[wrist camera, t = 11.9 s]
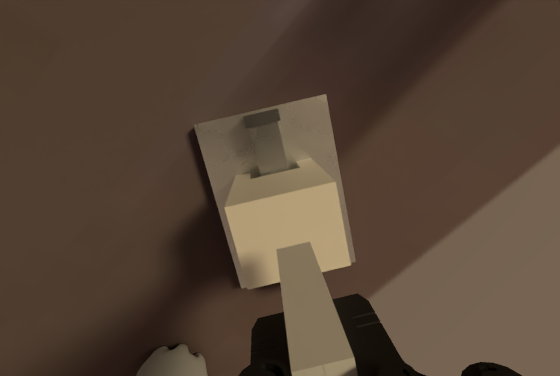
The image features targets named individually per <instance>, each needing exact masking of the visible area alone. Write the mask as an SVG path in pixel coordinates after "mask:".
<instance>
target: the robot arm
mask: <svg viewBox="0 0 560 376" xmlns="http://www.w3.org/2000/svg"><path fill="white" fill-rule="evenodd" d="M276 251H277V259H278V267H279V276H280V284H281V292H282V300H283V309H284V312H282V313H278V314H274V315H270V316H266V317H261V318H258V319H257V321H256V323H255V325H254V327H253V329H252V338H251V343H252V345H251V364H250V365H249V366H248V367H246V368H245V369H244V370H242V372H241V373H240V374H239V376H426V375H423V374H420V373H418V372H416V371H415V370H414V369H413V368H412V367H411V366H409V365H407V364H406V363H405V362H404V361H403V360H402V358H401V357H400V355H399V354H398V352H397V350H396V348H395V346H394V345H393V343H392V341H391V339H390V338H389V336H388V334H387V333H386V331H385V329H384V328H383V326H382V324H381V323H380V320H379V319H378V317H377V315H376V314H375V311H374V310H373V308H372V306H371V304H370V303H369V301H368V300H366V299H365V298H363V297H362V296H360V295H359V294H353V295H349V296H345V297H341V298H337V299H332V298H331V295H330V293H329V290H328V288H327V285H326V282H325V280H324V277H323V275H322V272H321V269H320V267H319V264H318V262H317V259H316V256H315V254H314V251H313V249H312V246H311V243H310V242H306V243H301V244H297V245H293V246H289V247H284V248H280V249H276ZM461 376H522V375H520V374H518V373H516V372H515V371H513V370H511V369H509V368H508V367H505V366H502V365H499V364H495V363H487V362H479V363H475V364H472V365H469V366H468V367H467V368H466V369H465V370H463V371H462V375H461Z"/></svg>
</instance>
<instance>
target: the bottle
mask: <svg viewBox="0 0 560 376" xmlns="http://www.w3.org/2000/svg"><path fill="white" fill-rule="evenodd" d="M136 376H208V375H207V371H206V363H205V359H204V357H203V356H202V355H201V354H200V353H196V354H194V355H192V354H190V352H189V351H188V347H187V345H185V344H179V345H178V346H177V347H176V348H175V349H173V350H169V349H168V348H167V347H166V346H162V347H160V348H158V349H157V350H155V351H154V352H153V353H152V355H151V356H150V357H149V358H148V359H147V360H146V362H145V363H144V364H143V365H142V366H141V368H140V369H139V371H138V372H137V374H136Z"/></svg>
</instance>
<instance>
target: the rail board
mask: <svg viewBox="0 0 560 376" xmlns="http://www.w3.org/2000/svg"><path fill="white" fill-rule="evenodd" d="M194 128H195V132H196V135H197V138H198V142H199V145H200V149H201V152H202V156H203V159H204V162H205V166H206V169H207V173H208V176H209V179H210V183H211V186H212V190H213V193H214V197H215V200H216V203H217V207H218V210H219V214H220V217H221V221H222V224H223V227H224V231H225V234H226V238H227V241H228V245H229V248H230V251H231V255H232V258H233V262H234V265H235V269H236V272H237V275H238V279H239V282H240V286H241V289H242V288H246V287H247V286H246V282H245V279H244V275H243V272H242V268H241V265H240V261H239V258H238V254H237V251H236V247H235V244H234V240H233V237H232V233H231V230H230V226H229V222H228V219H227V215H226V212H225V208H224V207H225V204H226V201H227V198H228V195H229V193H230V190H231V187H232V184H233V181H234V178H235V176H236V175H241V174H245V173H249V172H251V176H252V179H253V178H257V177H262V176H266V175H270V174H275V173H279V172H283V171H287V170H292V169H296V168H297V164H296V161H301V160H305V159H309V158H311V159H312V160H314V161H315V162H316V163H317V164H318V165H319V166H320V167H321V168H322V169H323V170H324V171H325V172H326V173H327V174H328V175H329V176H330V177H331V178H333V179H334V180H335V181H336V185H337V191H338V196H339V202H340V207H341V213H342V218H343V224H344V229H345V235H346V241H347V246H348V252H349V257H350V263H351V262H356V260H355V255H354V249H353V243H352V238H351V232H350V227H349V221H348V215H347V210H346V204H345V199H344V193H343V187H342V182H341V176H340V171H339V165H338V159H337V154H336V148H335V143H334V137H333V131H332V126H331V120H330V114H329V109H328V103H327V98H326V94H324V95H320V96H316V97H311V98H307V99H303V100H298V101H294V102H290V103H285V104H281V105H277V106H273V107H268V108H264V109H260V110H255V111H251V112H247V113H243V114H238V115H234V116H230V117H225V118H221V119H217V120H212V121H208V122H204V123H200V124H195V125H194Z"/></svg>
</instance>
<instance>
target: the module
mask: <svg viewBox="0 0 560 376" xmlns="http://www.w3.org/2000/svg"><path fill="white" fill-rule="evenodd" d="M296 164H297V168H296V169H292V170H287V171H283V172H279V173H275V174H270V175H266V176H262V177H257V178H253V179H252V176H251V172H249V173H245V174H241V175H236V176H235V178H234V181H233V184H232V187H231V190H230V193H229V195H228V198H227V201H226V204H225V207H224V208H225V212H226V215H227V219H228V222H229V226H230V230H231V233H232V237H233V240H234V244H235V247H236V251H237V254H238V258H239V261H240V265H241V268H242V272H243V275H244V279H245V282H246V286H247V289H248V290H249V289H253V288H257V287H261V286H265V285H270V284H274V283H278V282H280V276H279V267H278V259H277V251H276V249H280V248H284V247H289V246H293V245H297V244H301V243H306V242H310V243H311V246H312V249H313V251H314V254H315V256H316V259H317V262H318V264H319V267H320V269H321V272H325V271H329V270H333V269H337V268H342V267H346V266H350V265H351V263H350V257H349V252H348V246H347V241H346V235H345V229H344V224H343V218H342V213H341V207H340V202H339V196H338V191H337V185H336V181H335V180H334V179H333V178H331V177H330V176H329V175H328V174H327V173H326V172H325V171H324V170H323V169H322V168H321V167H320V166H319V165H318V164H317V163H316V162H315V161H314V160H312V159H311V158H309V159H305V160H301V161H296Z"/></svg>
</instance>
